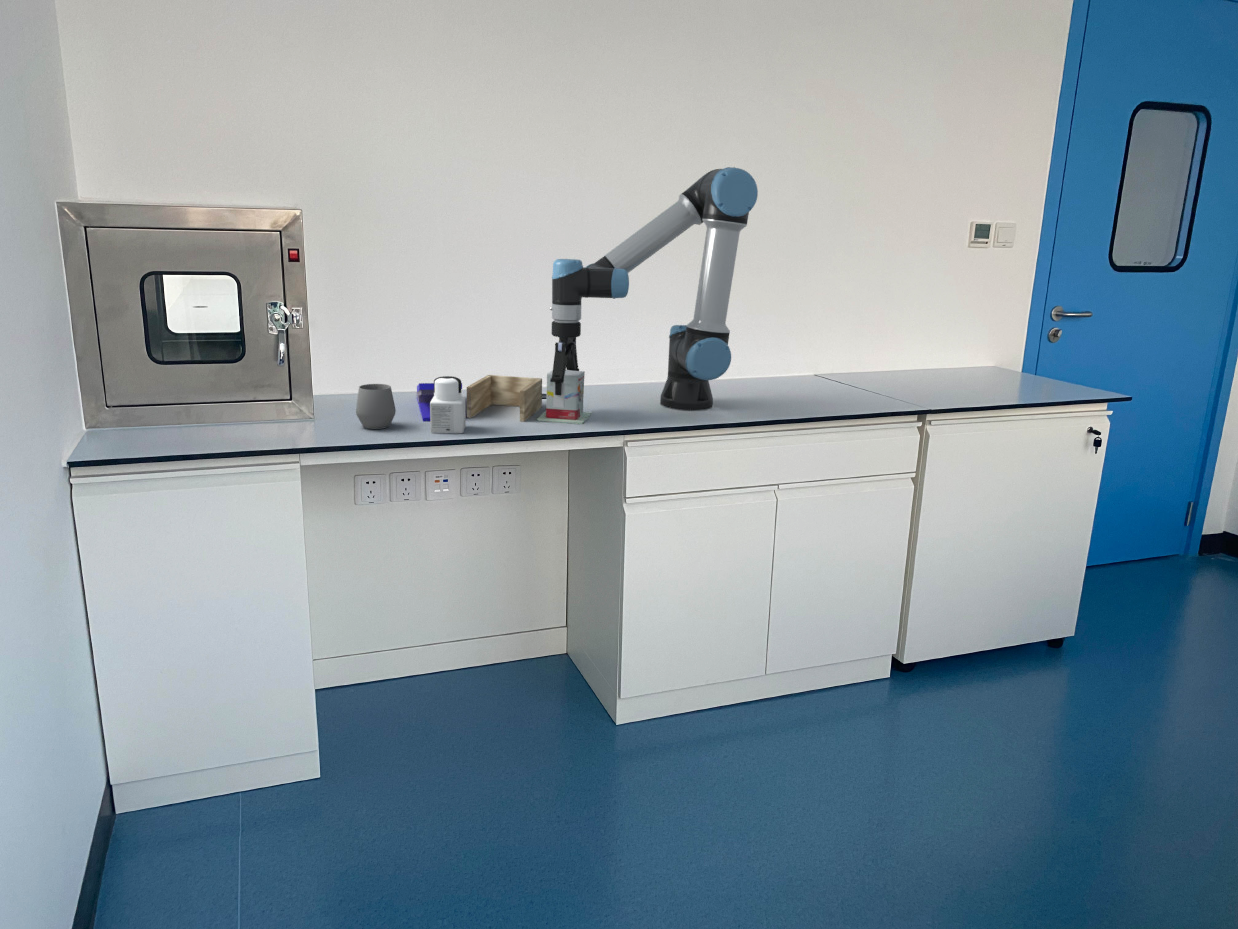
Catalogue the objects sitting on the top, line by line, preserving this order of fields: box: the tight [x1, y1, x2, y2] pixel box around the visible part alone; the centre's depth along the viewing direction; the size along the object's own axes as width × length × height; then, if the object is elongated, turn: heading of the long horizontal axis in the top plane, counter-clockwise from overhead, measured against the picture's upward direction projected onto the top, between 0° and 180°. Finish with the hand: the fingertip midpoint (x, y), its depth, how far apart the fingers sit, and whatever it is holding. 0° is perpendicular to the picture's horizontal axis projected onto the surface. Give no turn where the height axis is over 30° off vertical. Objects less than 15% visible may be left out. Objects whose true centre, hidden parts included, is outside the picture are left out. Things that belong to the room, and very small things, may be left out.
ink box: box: [545, 369, 586, 420], centre depth 231 cm, size 9×9×12 cm
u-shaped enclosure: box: [466, 374, 543, 422], centre depth 235 cm, size 15×18×8 cm
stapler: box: [416, 382, 463, 422], centre depth 236 cm, size 12×28×10 cm, turn 16°
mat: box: [536, 411, 592, 425], centre depth 232 cm, size 12×12×1 cm
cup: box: [355, 383, 397, 430], centre depth 214 cm, size 10×9×10 cm
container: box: [429, 375, 467, 434], centre depth 214 cm, size 8×8×13 cm
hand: (564, 401), depth 231 cm, fingers open, 13 cm apart
